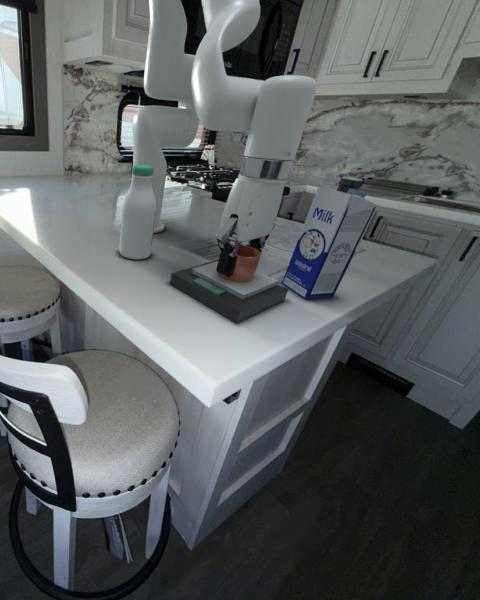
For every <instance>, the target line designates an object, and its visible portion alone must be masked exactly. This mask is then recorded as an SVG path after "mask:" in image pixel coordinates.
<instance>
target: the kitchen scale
mask: <svg viewBox="0 0 480 600" xmlns="http://www.w3.org/2000/svg"><path fill="white" fill-rule="evenodd" d="M218 260H219V259H215V260H212V261H208V262H205V263H201V264H198V265H195V266H191V267H188V268H184V269H179V270H177V271H173V272H171V275H170V279H169V284H170V285H171V286H172V287H174V288H176V289H178V290H179V291H181V292H183V293H185V294H186V295H188V296H190V298H193V299H194V300H196V301H198V302H200V303H201V304H203V305H205V306H206V307H208V308H210V309H212V310H213V311H215V312H216V313H218V314H220V315H222V316H223V317H225V318H227V319H228V320H230V321H232V322H233V323H235V324H238V323H240V322H241V321H243V320H245V319H248V318H250V317H252V316H254V315H256V314H258V313H260V312H263V311H265V310H267V309H269V308H271V307H273V306H275V305H278V304H280V303H281V302H284V301H285V300H286V297H287V294H288V292H289V290H290V289H289V288H288V287H286V286H282V285H280V284H279V281H280V280H278V279H277V278H276V279H275V278H273V277H271V276H268V275H266V274H264V273H262V272H260V271H257V270H256V273H255V276H254V279H253V280H252V281H251V282H246V283H239V282H233V281H229V280H227V279H224V278H222V277H221V276H219V275H218V273H217V271H216V269H217V265H218Z"/></svg>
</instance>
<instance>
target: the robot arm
mask: <svg viewBox="0 0 480 600" xmlns="http://www.w3.org/2000/svg"><path fill="white" fill-rule="evenodd" d="M201 6H202V13H203V18H204V24H205V25H204V26H205V29H206V33H205V34H204V36H203V38H202V40H200V41H201V42H200V43H199V45H198V47H197V50H196V53H195V54H189V53H185V43H186V38H187V33H188V22H187V17H186V11H185V9H184V6H183V3H182V0H148V9H149V27H148V28H149V29H148V30H149V31H148V38H147V46H146V55H145V56H146V57H145V64H144V72H143V89H144V94H145V95H146V96H147V97H149V98H152V99H156V100H163V101H164V100H165V101H175V102H178V105H177V106H178V107H176V106H168V105H167V106H166V105H154V104H153V105H152V104H151V105H145V106H142V107H141V108H139V109H138V110H137V111H136V112H135V114H134V115H133V119H132V127H131V128H132V141H133V159H132V167H133V166H134V165H148V166H152V167H154V173H153V178H152V180H151V183H152V190H153V193H154V197H155V201H156V213H155V223H154V231H153V234H154V233H155V234H156V233H160V232H163V231H164V229H165V224H164V223H163V222H162V221H161V215H162V209H163V201H164V194H165V193H164V192H165V187H166V186H165V185H166V178H167V171H168V164H167V160H166V157H165V155H164V152H163V150H162V149H166V148H167V149H184V148H187V147H190V146H191V145H192V143H193V142H194V141H195V138H196V136H197V133H198V129H199V125H200V124H201V125H202V127H204V128H205V129H207V130H210V131H214V132H229V133H230V132H231V133H232V132H233V133H242V134H243V133H245V134H248V136H247V139H246V143H245V146H244V151H243V156H242V160H241V163H240V168H239V171H238V176H237V177H236V178H235V180H234V182H233V184H232V187H231V189H230V191H229V194H228V197H227V200H226V203H225V206H224V210H223V213H222V217H221V220H220V223H219V228H218V232H217V234H216V235H215V240H216V242H217V246H218V252H219V258H218V259H217V260H218V265H217V269H216V271H217V272H219V273H221V274H223V275H225V276H227V277H231V276H232V274H233V271H234V267H235V263H236V260H237V256H235V255H236V253H237V251H238V249H239V247H240V246H241V245H243V243H244V242H248V243H246V244H245V245H246V246H250V247H253V248H255V249H257V250H259V251H260V252H261V253H262V252H263V249H265V246H266V241H267V240H268V238H269V237H270V234H271V233H272V231H273V230H274V229H275V227H276V220H277V217H278V214H279V210H280V206H281V203H282V198H283V194H284V189H285V184H287V183H288V180H289V177H290V175H291V171H292V168H293V165H294V161H295V160H296V159H295V158H296V156H297V152H298V149H299V146H300V144H301V141H302V138H303V134H304V130H305V127H306V124H307V122H308V118H309V115H310V112H311V109H312V106H313V104H314V101H315V97H316V93H317V89H318V84H317V81H316V79H315V78H313V77H310V76H306V75H296V74H295V75H294V74H293V75H291V74H289V75H288V74H287V75H278V76H277V75H276V76H272V77H269V78H267V79H266V80H262V79H255V78H249V77H239V76H231V75H228V74H227V71H226V67H225V63H224V57H223V53H224V52H227V51H229V50H232V49H233V48H235V47H237V46H238V45H241V43H243V42H245V40H247V39H248V38H249V36H251V34H252V33H253V31H254V30H255V29H256V27H257V25H258V24H259V21H260V17H261V5H260V0H201ZM132 179H133V177H132V176H131V180H132ZM233 235H235V236H237V237H235V236H233ZM230 242H234V243H233V244H234V246H233V247H232V246H231V244H232V243H230Z"/></svg>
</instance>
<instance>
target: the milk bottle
mask: <svg viewBox="0 0 480 600" xmlns="http://www.w3.org/2000/svg"><path fill="white" fill-rule="evenodd" d="M153 173H154V167H152V166H148V165H134V166H133V165H132V168H131V182H130V183H131V184H130V186H129V189H128V191H127V193H126V194H125V196H124V198H123V199H124V200H123V203H122V208H121V218H120V219H121V220H120V234H119V249H118V251H119V254H120V255H121V256H122V257H123V258H126V259H129V260H145V259H147V258H149V257H150V256H151V254H152V253H151V252H152V247H153V239H154V233H153V231H154V223H155V213H156V201H155V197H154V193H153V190H152V183H151V180H152V178H153ZM132 177H133V179H132Z"/></svg>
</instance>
